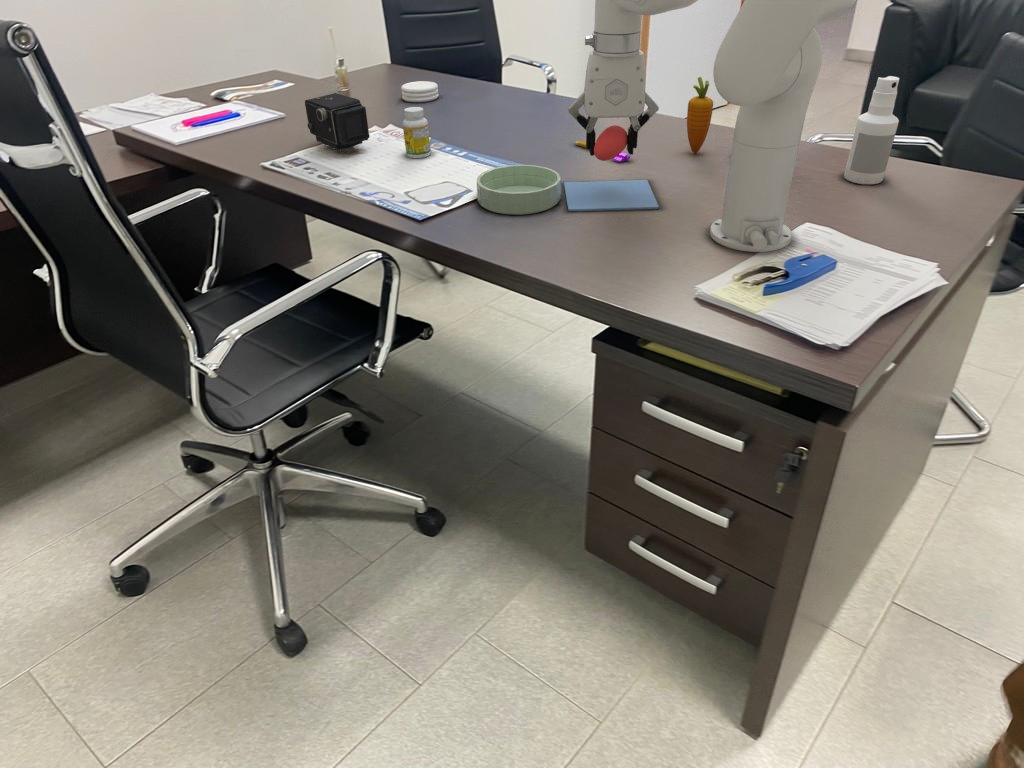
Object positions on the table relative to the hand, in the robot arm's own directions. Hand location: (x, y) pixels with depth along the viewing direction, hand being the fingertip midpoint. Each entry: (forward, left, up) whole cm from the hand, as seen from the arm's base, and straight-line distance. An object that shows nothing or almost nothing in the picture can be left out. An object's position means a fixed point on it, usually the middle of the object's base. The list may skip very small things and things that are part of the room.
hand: (610, 151), depth 128 cm
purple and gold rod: (+25, -1, -8) cm, 26 cm away
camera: (+34, +56, -8) cm, 66 cm away
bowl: (-1, +17, -8) cm, 19 cm away
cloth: (0, 0, -8) cm, 8 cm away
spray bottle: (+5, -49, -8) cm, 50 cm away
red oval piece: (0, 0, -1) cm, 1 cm away
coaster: (+78, +43, -8) cm, 90 cm away
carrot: (+23, -21, -8) cm, 32 cm away
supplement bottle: (+28, +38, -8) cm, 48 cm away
